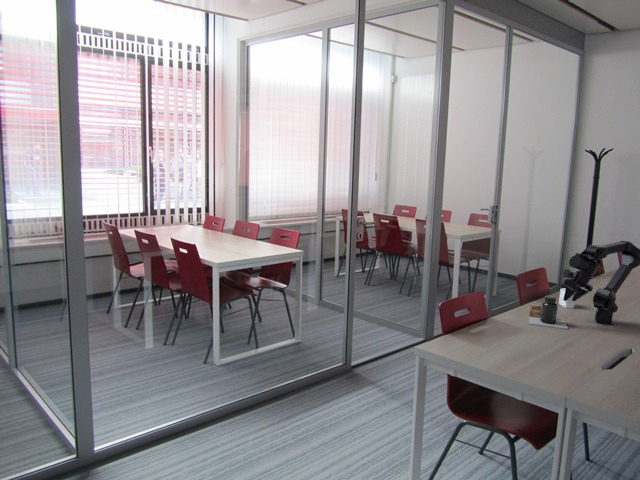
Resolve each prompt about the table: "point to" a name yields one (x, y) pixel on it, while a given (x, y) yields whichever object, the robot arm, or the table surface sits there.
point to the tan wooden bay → (534, 311)
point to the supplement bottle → (549, 310)
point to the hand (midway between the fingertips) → (568, 300)
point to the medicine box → (567, 303)
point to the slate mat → (557, 325)
